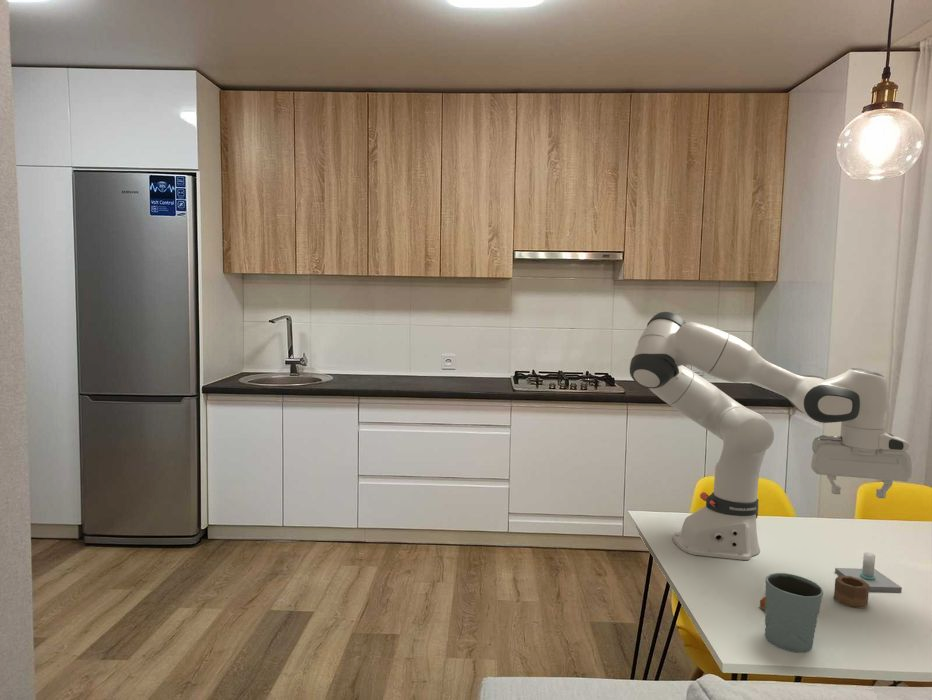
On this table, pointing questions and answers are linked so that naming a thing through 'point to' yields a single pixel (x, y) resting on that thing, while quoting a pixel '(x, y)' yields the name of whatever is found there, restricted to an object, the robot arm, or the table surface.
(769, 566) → the table surface
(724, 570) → the table surface
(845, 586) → the ring
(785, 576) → the grey blue cup
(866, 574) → the shaft stand
